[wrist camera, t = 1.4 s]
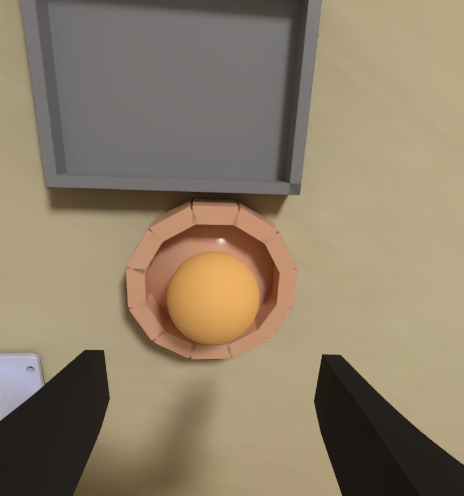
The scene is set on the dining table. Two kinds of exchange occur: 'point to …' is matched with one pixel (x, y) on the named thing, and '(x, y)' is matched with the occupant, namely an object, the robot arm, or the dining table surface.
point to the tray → (172, 92)
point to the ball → (213, 298)
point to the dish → (203, 240)
